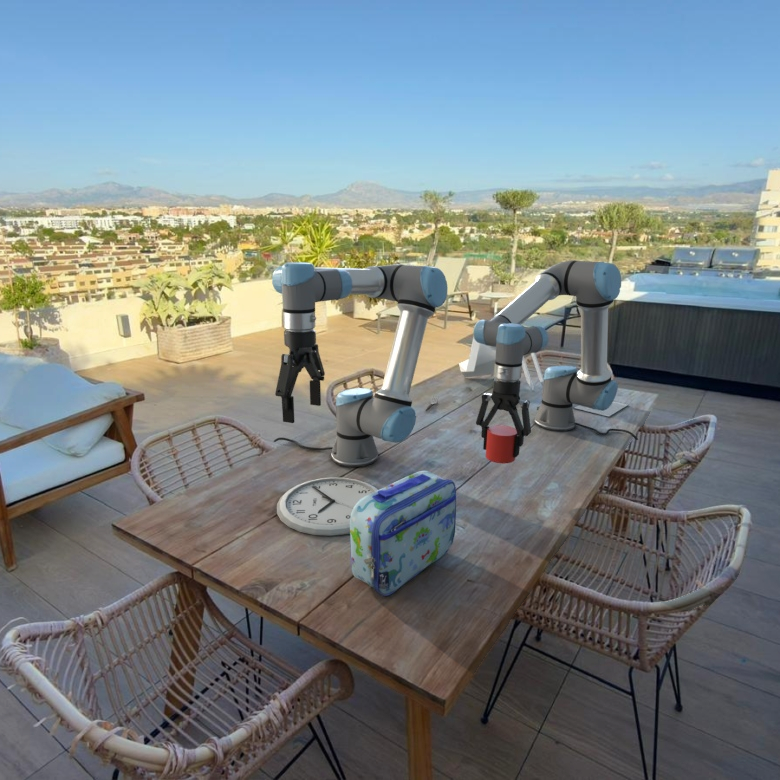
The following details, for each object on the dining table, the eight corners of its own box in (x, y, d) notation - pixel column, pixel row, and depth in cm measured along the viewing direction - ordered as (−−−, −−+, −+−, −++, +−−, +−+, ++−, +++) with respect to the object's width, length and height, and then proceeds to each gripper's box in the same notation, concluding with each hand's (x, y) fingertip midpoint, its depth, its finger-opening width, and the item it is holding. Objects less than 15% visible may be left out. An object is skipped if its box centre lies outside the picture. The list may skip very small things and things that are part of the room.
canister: (483, 461, 153) (485, 433, 150) (487, 449, 161) (489, 423, 158) (514, 465, 150) (516, 437, 148) (516, 453, 158) (518, 426, 156)
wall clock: (392, 527, 129) (268, 531, 127) (391, 533, 130) (269, 537, 127) (383, 473, 158) (282, 475, 155) (383, 478, 158) (282, 480, 156)
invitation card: (608, 416, 214) (573, 407, 224) (608, 416, 214) (573, 408, 224) (628, 404, 229) (594, 396, 238) (628, 405, 229) (594, 397, 238)
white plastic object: (480, 419, 265) (459, 396, 241) (461, 346, 287) (441, 319, 263) (551, 395, 253) (536, 368, 228) (526, 321, 275) (510, 290, 251)
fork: (422, 411, 216) (422, 407, 215) (433, 400, 230) (433, 396, 230) (428, 412, 215) (429, 407, 215) (438, 401, 230) (439, 396, 229)
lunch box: (378, 608, 104) (379, 516, 98) (343, 583, 112) (342, 495, 105) (459, 554, 122) (465, 473, 116) (425, 535, 129) (428, 458, 123)
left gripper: (286, 340, 112) (290, 432, 119) (336, 322, 135) (337, 400, 141) (256, 337, 115) (261, 427, 121) (310, 320, 137) (313, 396, 143)
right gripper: (466, 375, 151) (462, 447, 158) (540, 388, 140) (532, 465, 147) (477, 370, 157) (472, 439, 164) (548, 382, 146) (540, 456, 153)
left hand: (302, 413), depth 131 cm, fingers open, 13 cm apart
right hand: (500, 451), depth 155 cm, fingers closed on canister, 9 cm apart
